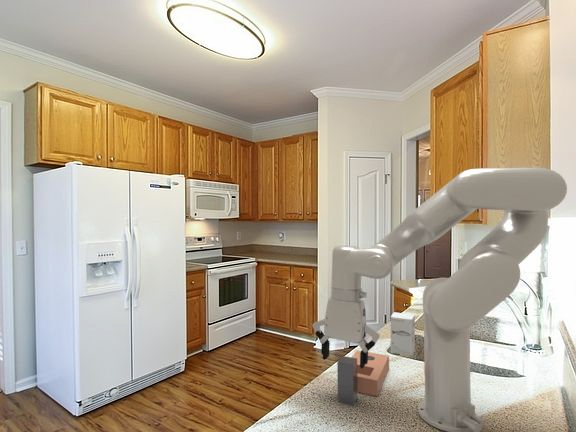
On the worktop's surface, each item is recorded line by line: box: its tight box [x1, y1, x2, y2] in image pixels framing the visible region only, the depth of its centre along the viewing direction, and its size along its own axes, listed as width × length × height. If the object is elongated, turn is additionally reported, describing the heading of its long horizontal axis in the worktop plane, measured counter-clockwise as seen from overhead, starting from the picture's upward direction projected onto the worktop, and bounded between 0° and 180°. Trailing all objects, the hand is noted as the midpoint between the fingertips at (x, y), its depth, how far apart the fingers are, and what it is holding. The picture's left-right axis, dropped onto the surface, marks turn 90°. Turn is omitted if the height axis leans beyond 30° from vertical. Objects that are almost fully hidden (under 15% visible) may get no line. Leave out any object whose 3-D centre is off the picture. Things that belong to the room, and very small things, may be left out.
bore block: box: [351, 350, 390, 397], centre depth 95 cm, size 18×10×4 cm, turn 154°
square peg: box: [336, 355, 359, 407], centre depth 83 cm, size 4×4×10 cm
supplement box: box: [390, 311, 416, 358], centre depth 114 cm, size 7×7×13 cm
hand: (343, 361), depth 83 cm, fingers open, 9 cm apart
